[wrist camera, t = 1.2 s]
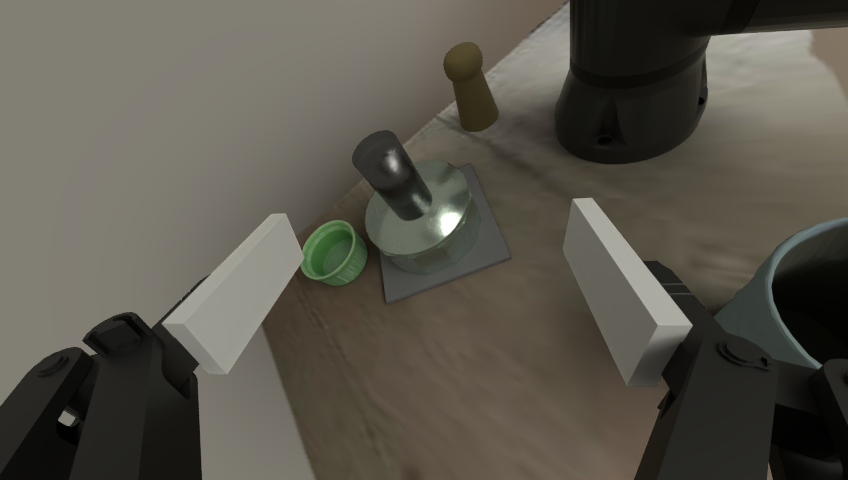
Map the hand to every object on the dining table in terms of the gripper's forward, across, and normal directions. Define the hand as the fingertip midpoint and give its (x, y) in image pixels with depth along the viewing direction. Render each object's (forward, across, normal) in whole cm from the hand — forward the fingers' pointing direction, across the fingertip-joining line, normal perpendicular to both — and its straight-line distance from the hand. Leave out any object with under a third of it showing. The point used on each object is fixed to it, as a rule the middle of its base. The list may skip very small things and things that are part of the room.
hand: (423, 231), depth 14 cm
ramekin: (+21, -16, -19) cm, 32 cm away
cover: (+22, -2, -14) cm, 26 cm away
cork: (+39, +5, -4) cm, 39 cm away
